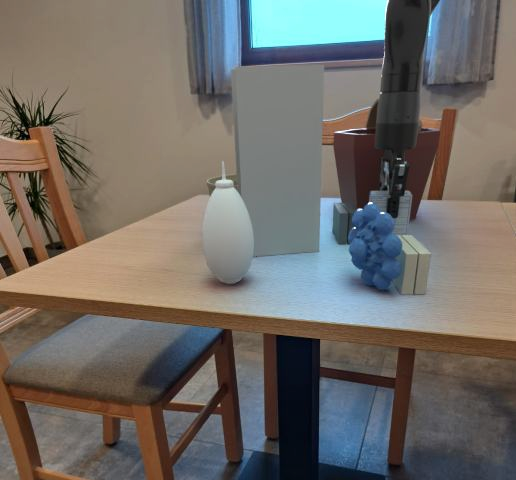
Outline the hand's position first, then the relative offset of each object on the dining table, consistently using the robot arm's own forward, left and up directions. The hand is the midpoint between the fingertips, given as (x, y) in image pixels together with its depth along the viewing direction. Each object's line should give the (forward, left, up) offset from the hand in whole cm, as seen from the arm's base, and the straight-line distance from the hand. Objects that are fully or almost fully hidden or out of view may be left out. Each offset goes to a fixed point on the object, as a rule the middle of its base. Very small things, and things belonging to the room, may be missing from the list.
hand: (388, 214), depth 92 cm
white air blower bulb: (+30, +25, -5) cm, 39 cm away
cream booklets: (+3, +27, -4) cm, 28 cm away
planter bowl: (+29, -9, -5) cm, 31 cm away
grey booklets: (+8, 0, -4) cm, 10 cm away
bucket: (-2, -19, -5) cm, 20 cm away
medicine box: (0, 0, -5) cm, 5 cm away
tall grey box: (+22, +8, -5) cm, 24 cm away
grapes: (+9, +28, -5) cm, 30 cm away
